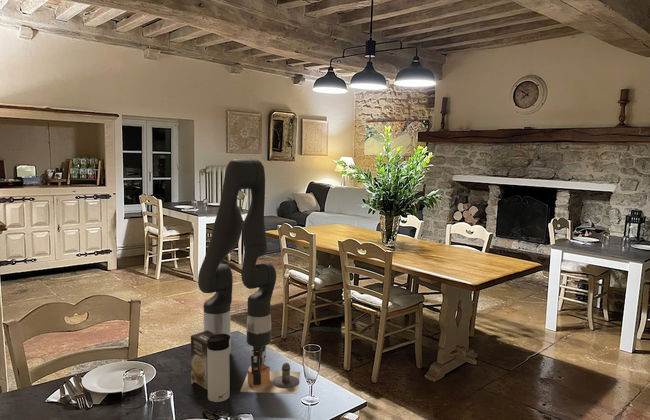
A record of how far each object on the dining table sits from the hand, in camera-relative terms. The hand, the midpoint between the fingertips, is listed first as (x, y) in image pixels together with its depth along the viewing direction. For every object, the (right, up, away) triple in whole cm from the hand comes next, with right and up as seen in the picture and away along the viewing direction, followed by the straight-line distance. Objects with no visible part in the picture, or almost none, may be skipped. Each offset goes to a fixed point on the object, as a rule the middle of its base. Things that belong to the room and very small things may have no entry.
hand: (258, 379), depth 149 cm
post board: (+4, -2, 0) cm, 5 cm away
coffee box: (-16, -2, 0) cm, 16 cm away
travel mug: (-10, -3, -9) cm, 14 cm away
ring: (0, -1, 0) cm, 1 cm away
